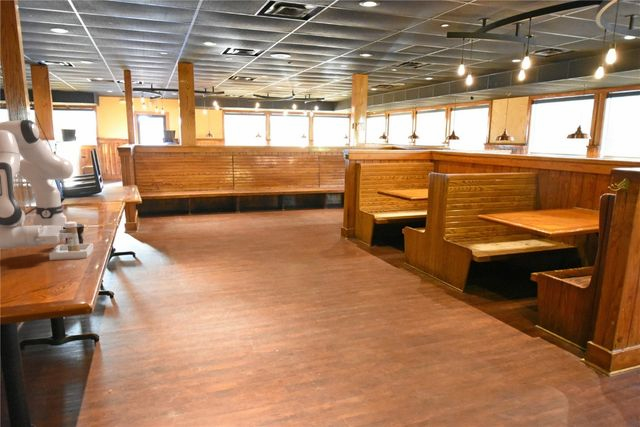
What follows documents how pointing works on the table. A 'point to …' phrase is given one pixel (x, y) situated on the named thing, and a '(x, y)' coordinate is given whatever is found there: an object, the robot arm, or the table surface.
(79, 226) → the coffee mug
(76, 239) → the sprinkles bottle
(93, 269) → the table surface
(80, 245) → the tray
